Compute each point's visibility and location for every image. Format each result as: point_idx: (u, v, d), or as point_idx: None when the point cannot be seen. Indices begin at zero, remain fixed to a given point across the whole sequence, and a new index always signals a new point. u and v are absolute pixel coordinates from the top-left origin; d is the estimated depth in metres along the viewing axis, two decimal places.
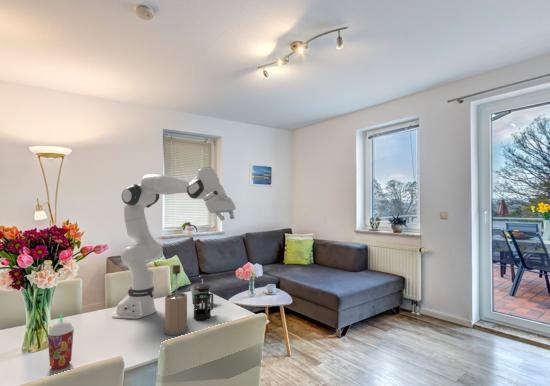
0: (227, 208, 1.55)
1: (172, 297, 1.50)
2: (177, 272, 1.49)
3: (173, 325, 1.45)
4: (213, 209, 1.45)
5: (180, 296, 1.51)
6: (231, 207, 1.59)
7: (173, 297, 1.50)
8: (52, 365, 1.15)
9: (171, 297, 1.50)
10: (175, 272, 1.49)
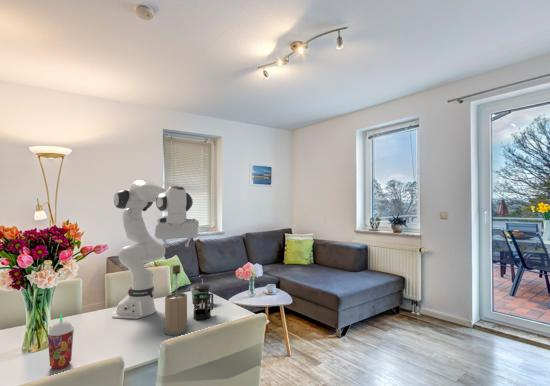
0: (178, 236, 1.49)
1: (172, 297, 1.50)
2: (177, 272, 1.49)
3: (173, 325, 1.45)
4: None
5: (180, 296, 1.51)
6: (187, 235, 1.49)
7: (173, 297, 1.50)
8: (52, 365, 1.15)
9: (171, 297, 1.50)
10: (175, 272, 1.49)
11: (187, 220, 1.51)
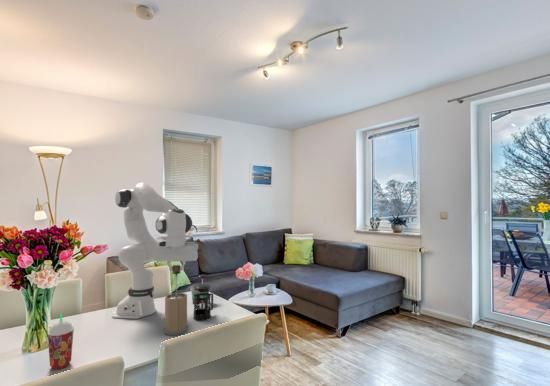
0: (178, 260, 1.49)
1: (172, 297, 1.50)
2: (177, 272, 1.49)
3: (173, 325, 1.45)
4: None
5: (180, 296, 1.51)
6: (186, 259, 1.49)
7: (173, 297, 1.50)
8: (52, 365, 1.15)
9: (171, 297, 1.50)
10: (175, 272, 1.49)
11: (187, 243, 1.51)
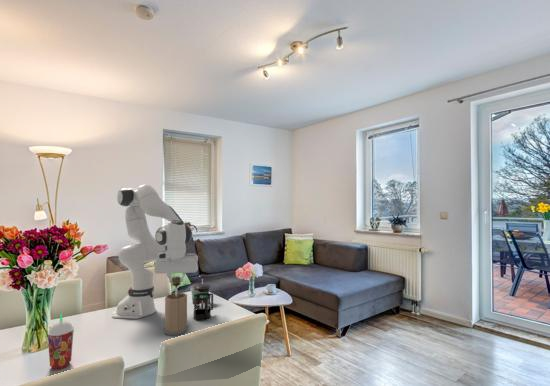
0: (177, 271, 1.49)
1: None
2: (177, 284, 1.49)
3: (173, 325, 1.45)
4: None
5: None
6: (186, 270, 1.49)
7: None
8: (52, 365, 1.15)
9: None
10: (175, 284, 1.48)
11: (186, 255, 1.51)
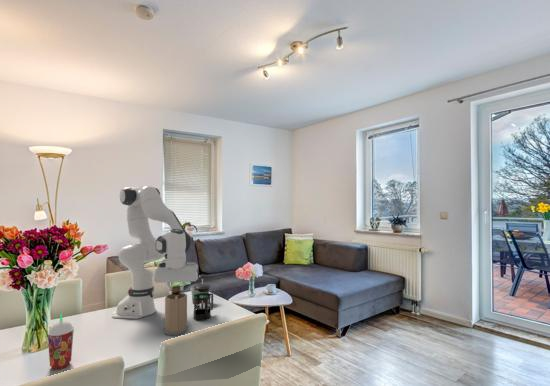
0: (177, 280, 1.49)
1: None
2: (177, 293, 1.49)
3: (173, 325, 1.45)
4: None
5: None
6: (186, 279, 1.49)
7: None
8: (52, 365, 1.15)
9: None
10: (175, 293, 1.48)
11: (186, 264, 1.50)
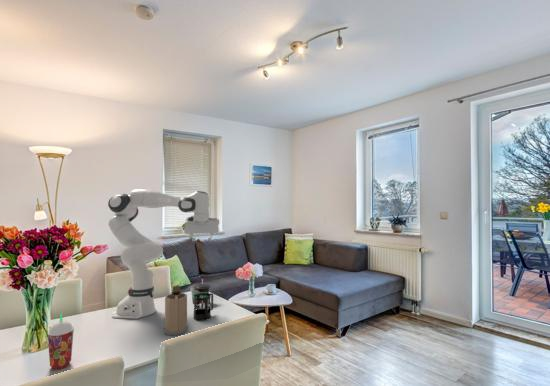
0: (203, 232, 1.83)
1: None
2: (177, 293, 1.49)
3: (173, 325, 1.45)
4: (184, 232, 1.82)
5: None
6: (210, 231, 1.83)
7: None
8: (52, 365, 1.15)
9: None
10: (175, 293, 1.48)
11: (210, 219, 1.84)
